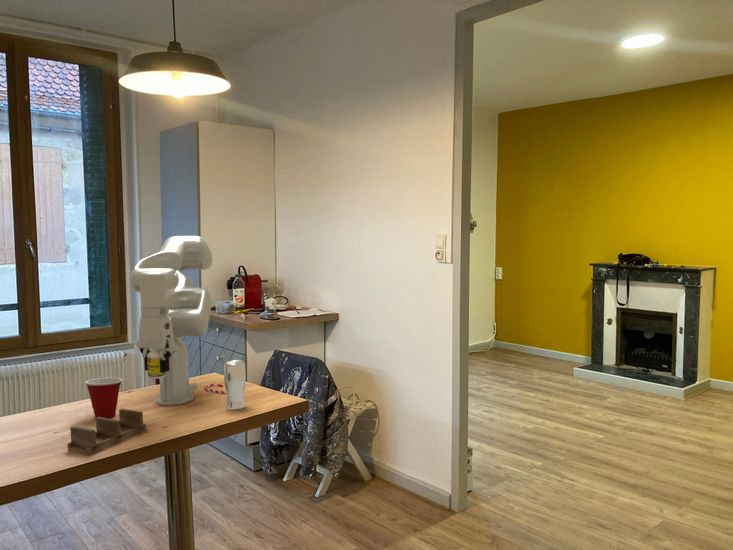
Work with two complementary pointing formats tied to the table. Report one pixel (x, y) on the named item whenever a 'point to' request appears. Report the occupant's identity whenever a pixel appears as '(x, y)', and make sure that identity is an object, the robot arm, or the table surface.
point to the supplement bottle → (154, 364)
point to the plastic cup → (104, 396)
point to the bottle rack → (106, 432)
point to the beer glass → (235, 383)
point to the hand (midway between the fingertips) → (157, 370)
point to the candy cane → (214, 390)
